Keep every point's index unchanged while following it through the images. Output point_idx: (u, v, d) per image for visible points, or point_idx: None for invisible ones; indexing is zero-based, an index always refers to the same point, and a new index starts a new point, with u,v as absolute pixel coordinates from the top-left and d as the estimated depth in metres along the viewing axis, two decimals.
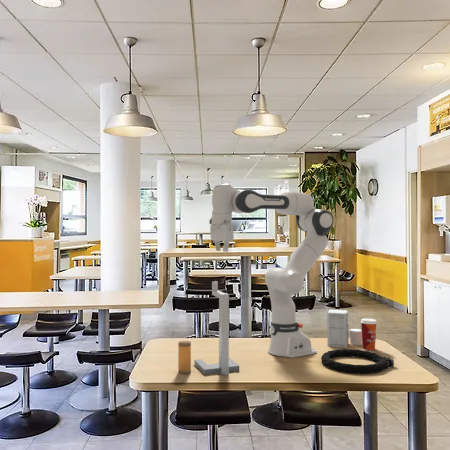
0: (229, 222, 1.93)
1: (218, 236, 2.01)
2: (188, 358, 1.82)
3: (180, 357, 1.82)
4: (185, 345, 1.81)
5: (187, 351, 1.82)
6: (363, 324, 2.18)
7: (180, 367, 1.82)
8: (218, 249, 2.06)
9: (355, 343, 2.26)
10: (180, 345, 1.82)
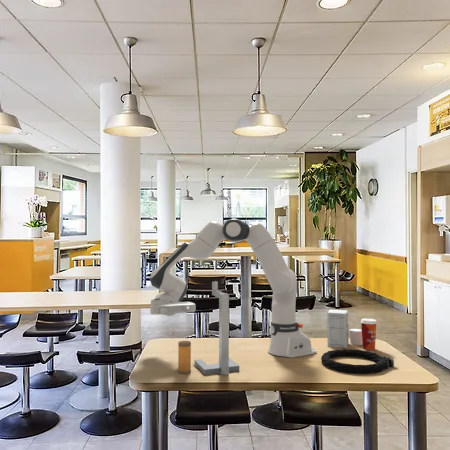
0: None
1: (174, 304, 2.02)
2: (188, 358, 1.82)
3: (180, 357, 1.82)
4: (185, 345, 1.81)
5: (187, 351, 1.81)
6: (363, 324, 2.18)
7: (180, 367, 1.82)
8: None
9: (355, 343, 2.26)
10: (180, 345, 1.82)
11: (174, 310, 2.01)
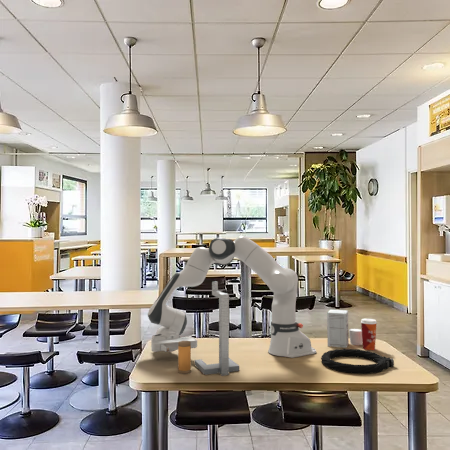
0: None
1: (175, 340, 1.99)
2: (188, 358, 1.82)
3: (180, 357, 1.82)
4: (185, 345, 1.81)
5: (186, 351, 1.81)
6: (363, 324, 2.18)
7: (180, 367, 1.82)
8: None
9: (355, 343, 2.26)
10: (180, 345, 1.82)
11: (175, 347, 1.98)
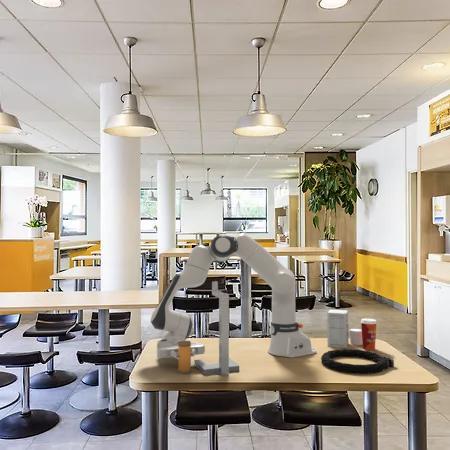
0: None
1: None
2: (188, 357, 1.82)
3: (180, 357, 1.82)
4: (185, 345, 1.81)
5: (187, 351, 1.82)
6: (363, 324, 2.18)
7: (180, 367, 1.82)
8: None
9: (355, 343, 2.26)
10: (180, 345, 1.82)
11: None
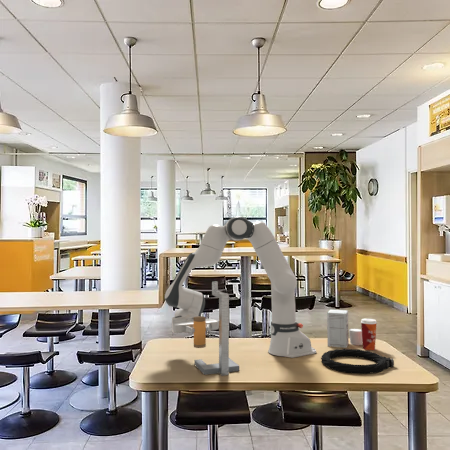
0: None
1: None
2: (203, 332, 1.87)
3: (195, 332, 1.86)
4: (200, 320, 1.86)
5: (202, 326, 1.86)
6: (363, 324, 2.18)
7: (195, 341, 1.86)
8: None
9: (355, 343, 2.26)
10: (195, 320, 1.86)
11: None
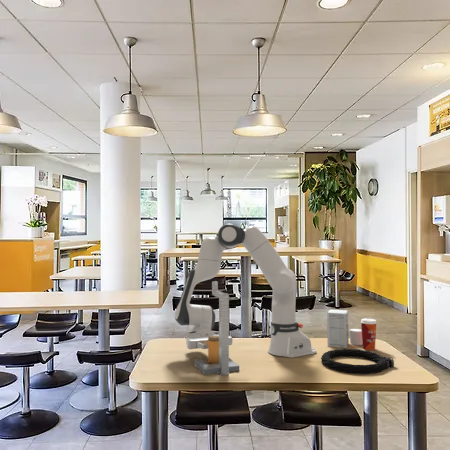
0: None
1: None
2: (218, 352, 1.90)
3: (210, 351, 1.90)
4: (215, 340, 1.90)
5: (216, 346, 1.90)
6: (363, 324, 2.18)
7: (210, 361, 1.90)
8: None
9: (355, 343, 2.26)
10: (210, 340, 1.90)
11: None
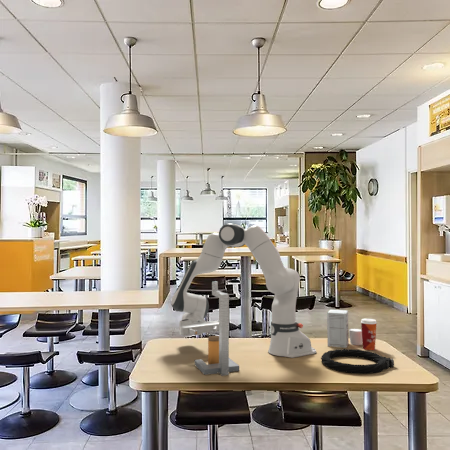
0: None
1: (202, 324, 2.11)
2: (218, 352, 1.90)
3: (210, 351, 1.90)
4: (215, 340, 1.90)
5: (216, 346, 1.90)
6: (363, 324, 2.18)
7: (210, 361, 1.90)
8: None
9: (355, 343, 2.26)
10: (210, 340, 1.90)
11: (202, 330, 2.10)
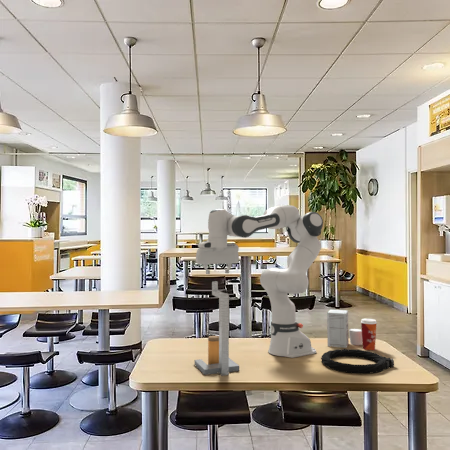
0: (237, 245, 2.13)
1: (220, 259, 2.08)
2: (218, 352, 1.91)
3: (210, 351, 1.90)
4: (215, 340, 1.90)
5: (216, 346, 1.90)
6: (363, 324, 2.18)
7: (210, 361, 1.90)
8: None
9: (355, 343, 2.26)
10: (210, 340, 1.90)
11: None
